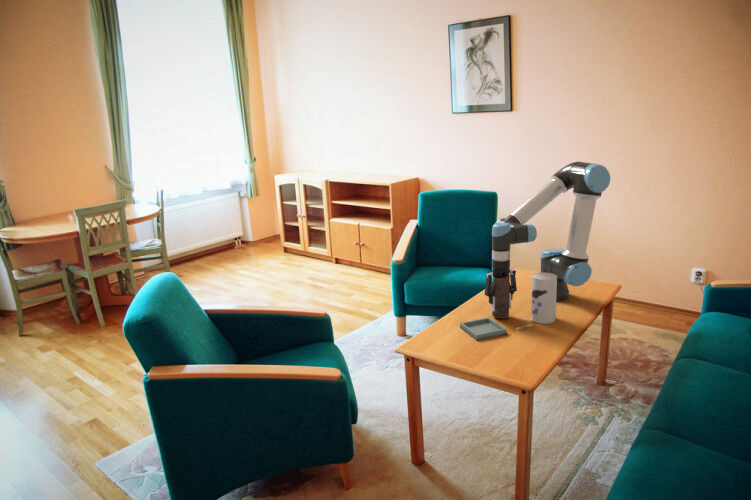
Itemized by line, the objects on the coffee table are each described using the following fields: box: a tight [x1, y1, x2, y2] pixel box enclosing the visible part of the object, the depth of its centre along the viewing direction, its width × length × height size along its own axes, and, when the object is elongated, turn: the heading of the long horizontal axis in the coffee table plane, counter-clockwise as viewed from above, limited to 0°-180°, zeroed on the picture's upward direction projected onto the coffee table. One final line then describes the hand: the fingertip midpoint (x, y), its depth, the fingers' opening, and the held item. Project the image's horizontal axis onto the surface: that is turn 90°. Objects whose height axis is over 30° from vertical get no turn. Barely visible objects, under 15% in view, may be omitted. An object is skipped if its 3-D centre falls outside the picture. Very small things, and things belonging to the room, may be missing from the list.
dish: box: [459, 316, 508, 341], centre depth 219 cm, size 14×14×2 cm
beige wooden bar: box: [515, 323, 534, 331], centre depth 220 cm, size 8×1×1 cm, turn 115°
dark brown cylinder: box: [491, 273, 510, 319], centre depth 229 cm, size 8×7×20 cm
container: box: [530, 272, 557, 325], centre depth 225 cm, size 10×10×20 cm
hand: (500, 308), depth 231 cm, fingers closed on dark brown cylinder, 7 cm apart
